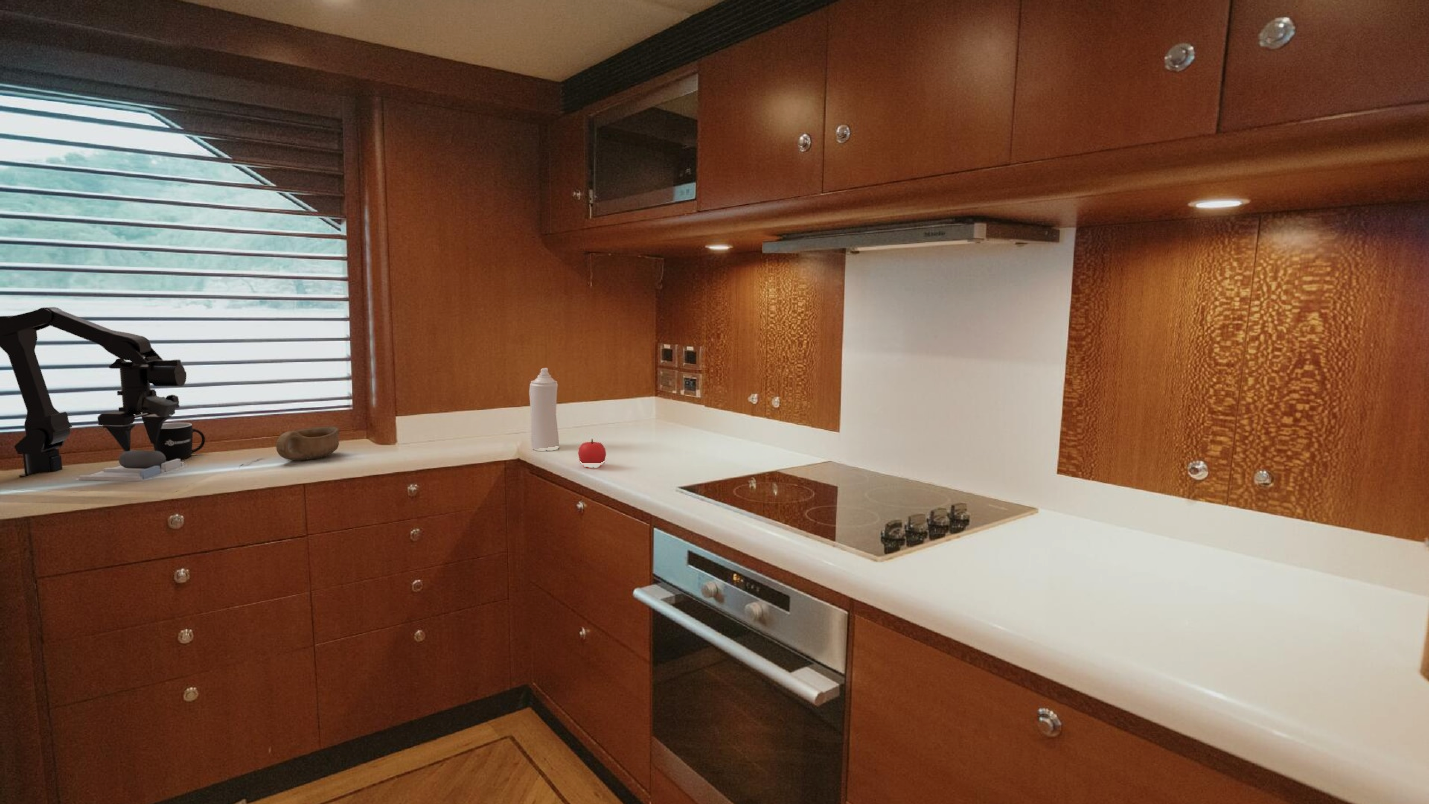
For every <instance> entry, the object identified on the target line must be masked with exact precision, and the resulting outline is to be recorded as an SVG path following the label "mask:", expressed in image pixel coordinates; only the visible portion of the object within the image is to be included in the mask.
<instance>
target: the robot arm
mask: <svg viewBox="0 0 1429 804" xmlns="http://www.w3.org/2000/svg"><path fill="white" fill-rule="evenodd" d="M50 326H51V327H53V328H56V329H58V330H60V331H64V332H66V333H68V334H71V335H74V336H76V337H79V338H82V339H85V340H87V341H89V342H91V343H94V344H97V345H99V346H101V347H102V348H103V349H104V350H105V351H106V352H107V353H110V354H111V355H113V356H115V357H116V359H115V361H114V362H113V363H111V364H109V366H108V368H109V369H110V370H112V369H116V370H118V369H119V375H120V388H121V390H117V391H116V395H117V396H121V399H122V400H121V401H122V406H119V407H118V411H117V410H116V411H113V410H111V411H107V412H102V413H100V414H99V415H98V416H97V424H98V426H102V428H104V429H106V430H107V431H108V432H109V433H110V434H111V435H112V437H113V438H114V439H115V440H116V442H117V443H118V445H119V446H120V447H121V448H122V450H123V452H125V451H130V450H131V440H132V439H131V435H132V434H131V431H132V430H133V428H134V427H135V426H136V425H137V424H135V423H134V422H135V420H136V419H137V418H141V419H142V422H143V425H144V429H145V431H146V434H147V436H148V439H149V442H150V444H152V445H153V444H156V443H157V440H158V437H159V434H160V430H161V427H162V425H163V424H165V422H166V421H167V420H169V419H171V418H172V416H173V415H174V414H176V409H179V408H180V400H179V396H177V395H176V394H169V395H167V396H166V397H165V396H158V394H157V391H156V389H152V388H151V384H152V385H153V386H154V387H179V388H180V387H183V386H185V384H186V381H187V371H186V369H185V367H184V365H182V360H181V359H171V360H170V359H169V360H168V359H163V358H162V357H161V356H160V355H159V354H158V353H157V352H156V350H154V349H153V347H152V344H151V342H150V340H149V339H148V338H147V337H145V336H143V335H138V334H135V333H130V332H124V331H117V330H113V329H110V328H108V327H105V326H103V325H100V324H96V323H95V322H92V321H90V320H86V319H85V318H81V317H79V316H77V315H75V314H71V313H69V312H66V311H65V310H62V309H60V308H59V307H56V306H49V307H40V308H38V309H35V310H33V311H29V312H23V313H20V314H16V315H1V316H0V349H2V351H4V352H5V353H6V355H7V356H8V359H9V362H10V365H11V368H12V370H13V374H14V377H15V379H16V383H17V385H18V388H19V391H20V394H21V398H22V400H23V404H24V406H25V409H26V416H25V421H24V424H23V425H24V432H25V436H24V437H22V439H20V440H19V441H18V442H17V443H16V444H14V446H13V447H14V450H15V451H16V452H17V455H22V459H23V460H22V462H23V470H24V471H23V472H24V473H21V474H18V477H19V478H27V477H30V476H35V475H36V474H42V473H54V472H55V473H56V472H58V471H62V470H63V461H62V455H60V449H59V448H62V447H64V443H65V440H67V439H68V438H69V436H70V435H71V428H72V427H73V426H72V424H71V423H70V421H69V416H68V415H69V414H68V413H67V412H66V411H63V412H60V411H58V409H56V408H55V407H54V405H53V402H52V400H51V397H50V393H49V390H48V387H47V385H46V382H45V379H44V375H43V373H42V369H41V365H40V363H39V360H38V358H37V355H36V354H37V353H36V347H37V346H36V345H37V341H38V334H37V333H38V332H37V331H40V330H44V329H46V328H48V327H50Z"/></svg>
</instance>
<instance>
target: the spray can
mask: <svg viewBox="0 0 1429 804" xmlns="http://www.w3.org/2000/svg"><path fill="white" fill-rule="evenodd" d="M558 386H559V385H558V381H557V380H555V379H554V378H553V377H552V375H551V374H550V373H549V369H548V367H543V368H541V369H540V372H539V374H538V375H537V377H536V378H535V379H534V380H530V383H529V390H528V395H529V408H530V444H531V445H530V446H531V450H532V449H539V448H548V447H555V446H559V447H560V440H559V437H560V436H559V431H558V430H559V429H558V422H557V421H558V420H557V419H558V418H557V401H558V399H557V397H558Z"/></svg>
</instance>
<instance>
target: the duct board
mask: <svg viewBox="0 0 1429 804" xmlns="http://www.w3.org/2000/svg"><path fill="white" fill-rule="evenodd" d="M161 466H162V467H160V466H153V467H150V468H147V469H137V468H125V467H123V466H121V465H118V466H114V467H105V468H103V470H102V471H99V472H95V473H92V474H88V475H84V474H83V475H82V474H81V475H79V476H78V477H77V478H75V479H74V480H75V481H76V480H77V481H115V482H117V481H121V482H122V481H123V482H125V481H126V482H129V481H130V482H145V481H148V480H151V479H154V478H157V477H160V476H162V475H165V474H166V475H167V474H168V473H171V472H174V471H176V470H180V469H182V468H183V469H184V468H186V467H189V464H186V463H185V462H184V461H182V460H180V459H175V460H171V461H166V462H165V463H162V464H161Z"/></svg>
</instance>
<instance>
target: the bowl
mask: <svg viewBox="0 0 1429 804" xmlns="http://www.w3.org/2000/svg"><path fill="white" fill-rule="evenodd" d="M339 432H340V429H339V428H338V427H337V426H317V427H315V426H314V427H309V428H303V429H298V430H297V429H296V430H288V431H285V432H284V433H281V434H280V435H279V436H278V438H277V440H276V444H275V445H276V446H275V447H276V448H275V449H276V451H277V453H278V456H280V457H281V458H283V459H285V460H290V461H291V460H292V461H297V460H298V461H302V460H303V461H304V460H315V459H321V458H325V457H326V456H329V455H331V454H333V453H334V452H335V451H336V450H337V449H338V448H339V445H340V443H339V442H340V441H339V438H340V437H339Z"/></svg>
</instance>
